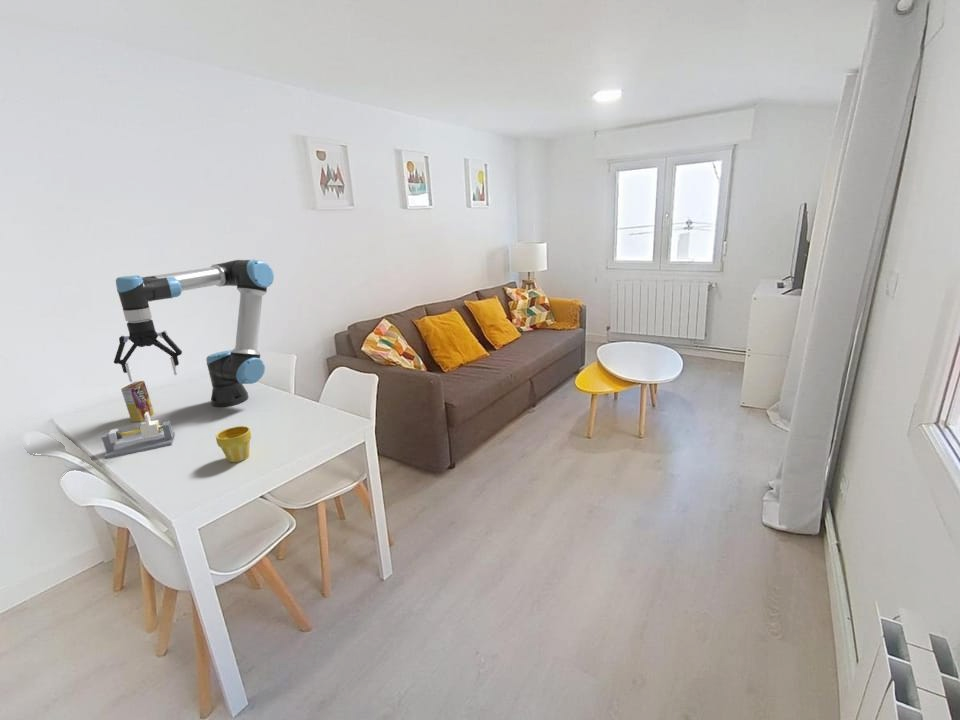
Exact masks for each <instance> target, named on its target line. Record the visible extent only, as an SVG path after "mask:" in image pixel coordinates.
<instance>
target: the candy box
mask: <svg viewBox="0 0 960 720" xmlns="http://www.w3.org/2000/svg"><path fill="white" fill-rule="evenodd" d="M121 393H122V397H123V400H124V402H125V406H126V409H127V411H128V414H129V418H130V421H131V422H132V423H141V422H143V421H145V417H144V415H145V413H146V412H149V415H150V416H152V415H153V414H154V413H155V411H154V408H153V404H152V401H151V398H150V396H149V392H148V388H147V386H146V382H145V381H144V380H140V381H139V380H137V381H133V382H131V383H130V384H128V385H126V386H124V387H122V388H121Z"/></svg>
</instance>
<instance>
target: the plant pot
mask: <svg viewBox="0 0 960 720" xmlns="http://www.w3.org/2000/svg"><path fill="white" fill-rule="evenodd" d="M251 439H252V433H251V429H250V427H248V426H246V425H245V426H244V425H241V426H233V427H228V428H226V429H223V430H221V431H219V432H218V433H217V434H216V435H215V440H216V444H217V447H219V448H220V449H221V451H222V452H223V454H224V455H225V458H226V460H227V461H228V462H230V463H240V462H243V461H245V460H247V459H248V458H249V457H250V442H251Z"/></svg>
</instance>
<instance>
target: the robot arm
mask: <svg viewBox="0 0 960 720" xmlns="http://www.w3.org/2000/svg"><path fill="white" fill-rule="evenodd" d="M274 277H275V274H274V271H273V268H271V266H270V265H269V264H268V263H267V262H265V261H263V260H261V259H260V260H259V259H235V260H230V261H226V262H220V263H216V264H212V265H211V266H210V267H206V268H198V269H197V268H196V269H190V270H185V271H177V272H171V273H164V274H163V273H162V274H155V275H149V276H143V277H142V276H141V275H126V276H118V277H117V278H116V279H115V285H116V291H117V294H118V297H119V299H120V300H119V301H120V304H121V307H122V311H123V316H124V319H125V321H126V322H127V323H126V327H127V330H128V333H129V335H127V336H124V335H120V336H119V345H118V347H117V350H116V354H115V357H114V359H113V363H114V364H115V365H116V364H119V365H120V366H121V368H122V372H123V373H124V374H127V377H128V380H129V383H134V380H135V378H134V375H133V372H132V368H131V364H130V362H127V361H128V360H129V358H130V357H131V356H132V355H133V353H134V351H135V350H136V349H137V347H139V348H143V347H151V346H154V347H157V348H158V349H160V350H161V351H162V352H164V353H166V354H167V355H168V356H170V358H169V359H170V363H171V368H172V370H173V375H174V376H177V375H178V373H179V372H178V368H177V366H179V363H180V362H179V358H178V356H181V355H182V353H183V351H182V349H181V348H179V346H178V345H177V344H176V343H175V342H174V341H173V340H172V339H171V338H170V337H169V335H168V332H167V331H166V330H162V331H160V332H157V331H156V329H155V324H154V320H152V318H153V316H152V312H151V308H150V305H149V302H154V301H160V300H161V301H162V300H168V299H173V298H177V297H178V298H179V296H181V294H182V292H184V291H189V290H194V289H195V290H196V289H200V288H207V287H212V286H217V287H226V286H227V287H228V286H229V287H236V289H237V290H238V292H239V293H240V295H239V296H240V297H239V303H238V304H239V307H238V317H237V325H236V328H237V329H236V335H235V336H236V337H235V347H234V348H233V349H232V350H231V349H229V350H224V351H219V352H215V353H212V354H209V355H207V357H206V359H205V360H206V366H207V368H208V369H207V370H208V373H209V378H210V381H211V386H212V390H211V397H210V401H211V405H212V406H213V407H216V408H219V407H220V408H225V407H230V406H234V405H238V404H241V403H243V402H245V401H247V400H248V399H249V392H248V391H247V389H246V388H245V386H244V385H252V384H255V383H257V382H259V381H260V380H261V379H262V378H263V376H264V374H265V370H266V369H265V368H266V366H265V363H264V362H263V360H262V359H261V352H260V351H259V350H258V344H259V343H258V342H259V335H260V334H259V332H260V323H261V312H262V303H263V296H265V294H267V290H268V287H271V285H272V284H273V282H274ZM158 337H159V338H162V339H163V340H164V341H165V342H166V344H167V345H168V346H170V348H169V347H167V346H166V345H165V344H163V343H162V342H161V341H159V340H158ZM128 340H129V341H131V342H132V343H133V344H132V345H131V347H130V348H129V350H128V352H126V354H125V355H124V357H123V358H122V355H123V353H124V352H123V351H124V349H125V346H126V343H127V342H128ZM121 358H122V359H121Z"/></svg>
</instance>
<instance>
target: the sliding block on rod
mask: <svg viewBox="0 0 960 720" xmlns="http://www.w3.org/2000/svg"><path fill="white" fill-rule="evenodd" d="M159 425H160V424H159ZM158 429H161V430H162V431H163V434H159V435H156V436H151V437H146V438H143V437H142V438H138V439H133V440H128V441H124V442H119V441H120V440H121V439H122V438H123V437H124V436H129V435H134V434H139V433H141V430H140V428H139V429H135V430H130V431H124V432H122V431H121V430H119V429H118V428H114V429H110V430H109V432H104V433H103V435H102V436H101V439H102V443H103V446H104V449H105V451H106V453H105V455H104V456H103V457H104V459H110V458H111V459H112V458H116V457H120V456H125V455H126V456H127V455H131V454H134V453H138V452H140V453H141V452H145V451H149V450H154V449H159V448H164V447H168V446H172V445H173V443H174V439H175V436H176V433H175V431H173V428H172V425H171V421H170V420H168V421H163V423H162V424H161V425H160V426H158ZM141 434H142V433H141Z"/></svg>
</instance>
